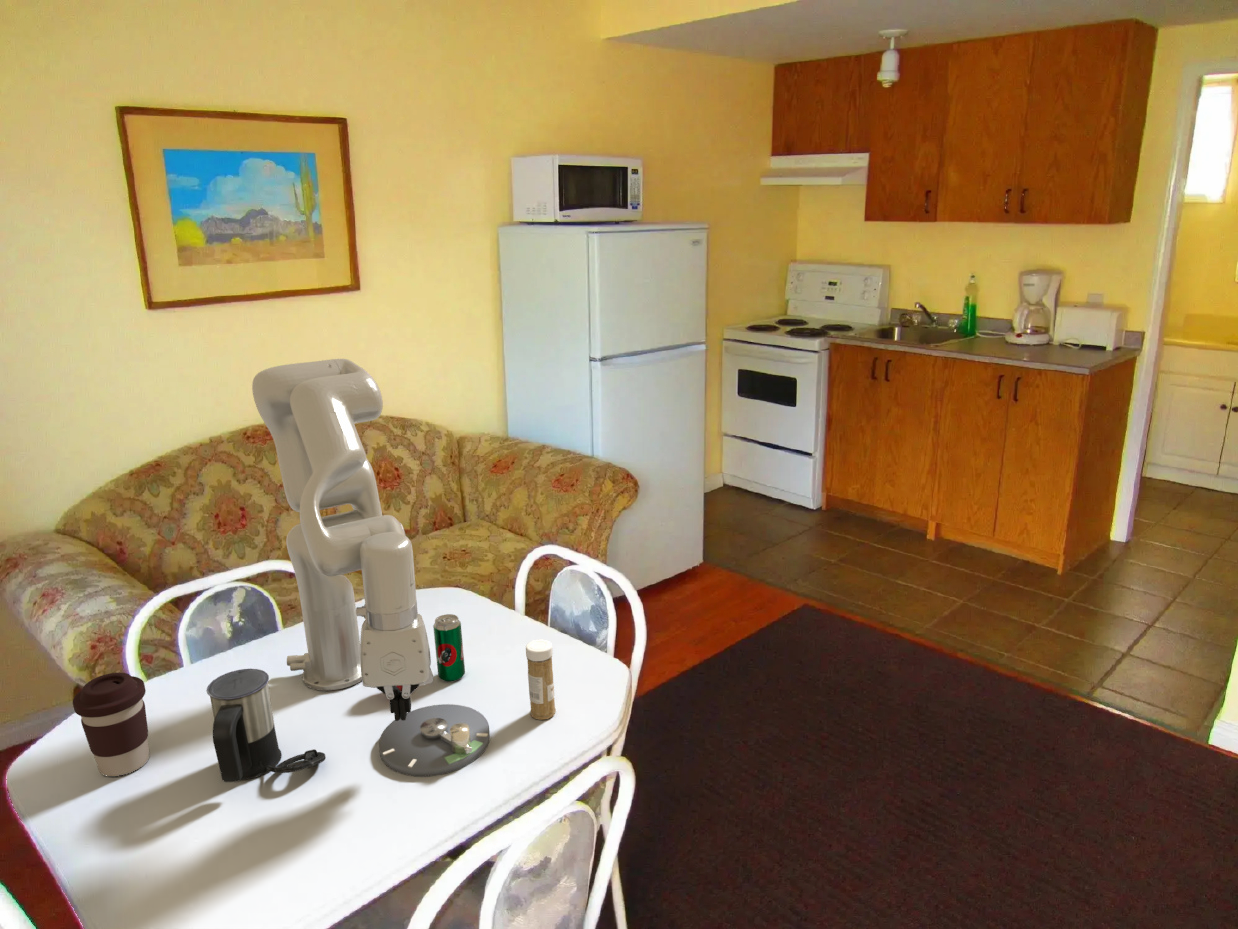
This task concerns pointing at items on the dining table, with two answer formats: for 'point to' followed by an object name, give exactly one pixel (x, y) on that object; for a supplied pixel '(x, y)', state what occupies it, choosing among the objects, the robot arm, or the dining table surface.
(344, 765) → the dining table surface
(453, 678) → the soda can
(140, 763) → the coffee cup
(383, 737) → the dial
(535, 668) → the spice jar
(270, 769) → the milk frother
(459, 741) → the needle
